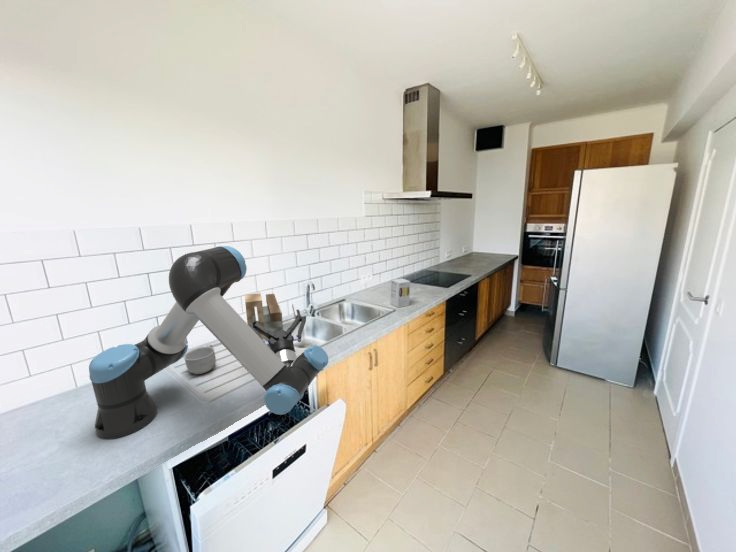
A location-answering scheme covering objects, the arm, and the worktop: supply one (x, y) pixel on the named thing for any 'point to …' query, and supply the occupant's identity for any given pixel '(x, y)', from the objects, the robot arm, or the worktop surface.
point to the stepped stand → (261, 314)
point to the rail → (273, 308)
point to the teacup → (200, 359)
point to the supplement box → (400, 292)
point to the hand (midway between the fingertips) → (274, 306)
